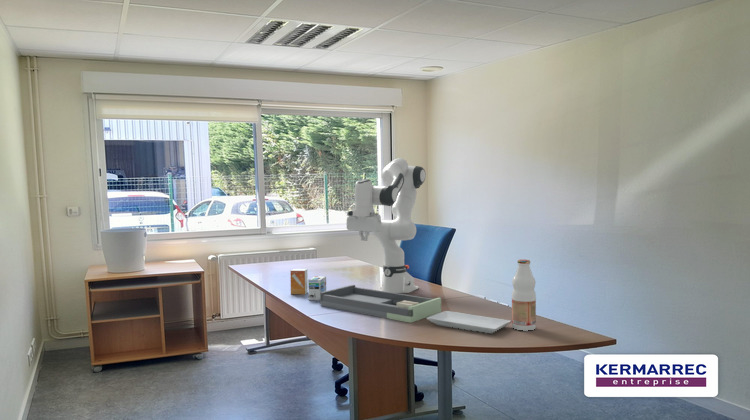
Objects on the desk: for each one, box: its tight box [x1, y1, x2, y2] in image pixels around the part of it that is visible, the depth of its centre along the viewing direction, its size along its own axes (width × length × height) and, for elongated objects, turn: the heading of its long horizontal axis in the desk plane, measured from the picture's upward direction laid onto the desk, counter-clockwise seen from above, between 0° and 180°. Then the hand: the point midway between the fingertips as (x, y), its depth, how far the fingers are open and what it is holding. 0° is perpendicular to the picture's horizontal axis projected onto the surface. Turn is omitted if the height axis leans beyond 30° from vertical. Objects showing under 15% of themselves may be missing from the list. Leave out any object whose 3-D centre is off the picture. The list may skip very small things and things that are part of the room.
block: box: [396, 300, 419, 308], centre depth 248 cm, size 6×8×4 cm
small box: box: [290, 268, 309, 296], centre depth 302 cm, size 8×6×13 cm
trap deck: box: [320, 284, 442, 323], centre depth 265 cm, size 24×54×6 cm, turn 51°
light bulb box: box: [308, 275, 327, 302], centre depth 289 cm, size 11×7×11 cm, turn 169°
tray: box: [426, 310, 512, 334], centre depth 232 cm, size 17×32×4 cm, turn 54°
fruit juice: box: [511, 259, 537, 332], centre depth 227 cm, size 9×9×28 cm
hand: (364, 240), depth 275 cm, fingers closed
